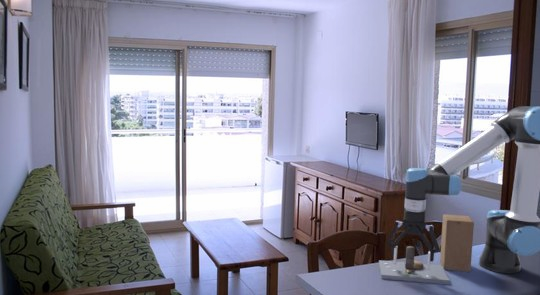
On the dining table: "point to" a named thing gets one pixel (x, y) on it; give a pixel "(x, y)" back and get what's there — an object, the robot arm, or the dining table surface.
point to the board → (413, 273)
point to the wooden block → (456, 242)
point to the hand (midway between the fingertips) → (411, 266)
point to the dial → (411, 260)
